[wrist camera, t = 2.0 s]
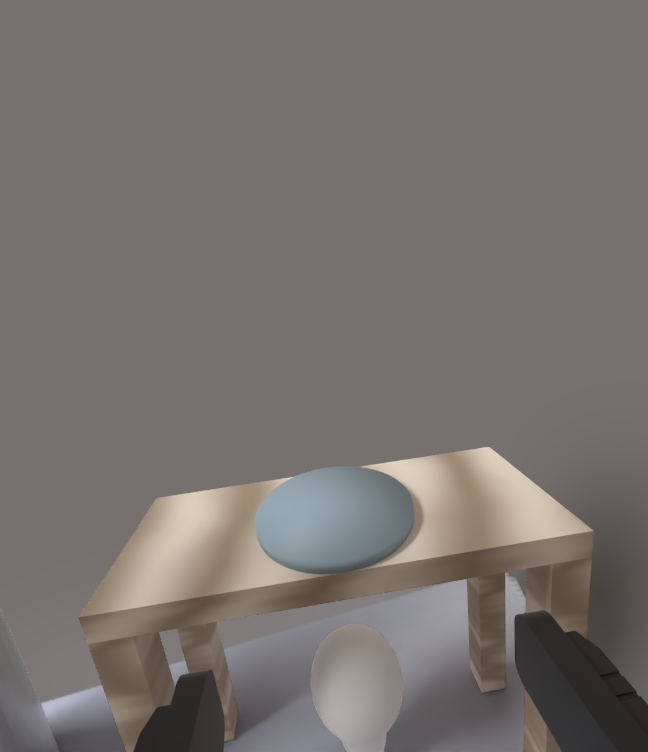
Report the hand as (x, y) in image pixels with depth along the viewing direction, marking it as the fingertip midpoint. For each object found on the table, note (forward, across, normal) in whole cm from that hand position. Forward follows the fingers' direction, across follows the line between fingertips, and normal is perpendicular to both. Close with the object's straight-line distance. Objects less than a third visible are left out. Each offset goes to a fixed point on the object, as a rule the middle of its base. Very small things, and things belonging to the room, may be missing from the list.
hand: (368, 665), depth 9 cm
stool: (+11, 0, +24) cm, 26 cm away
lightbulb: (+11, 0, +24) cm, 26 cm away
